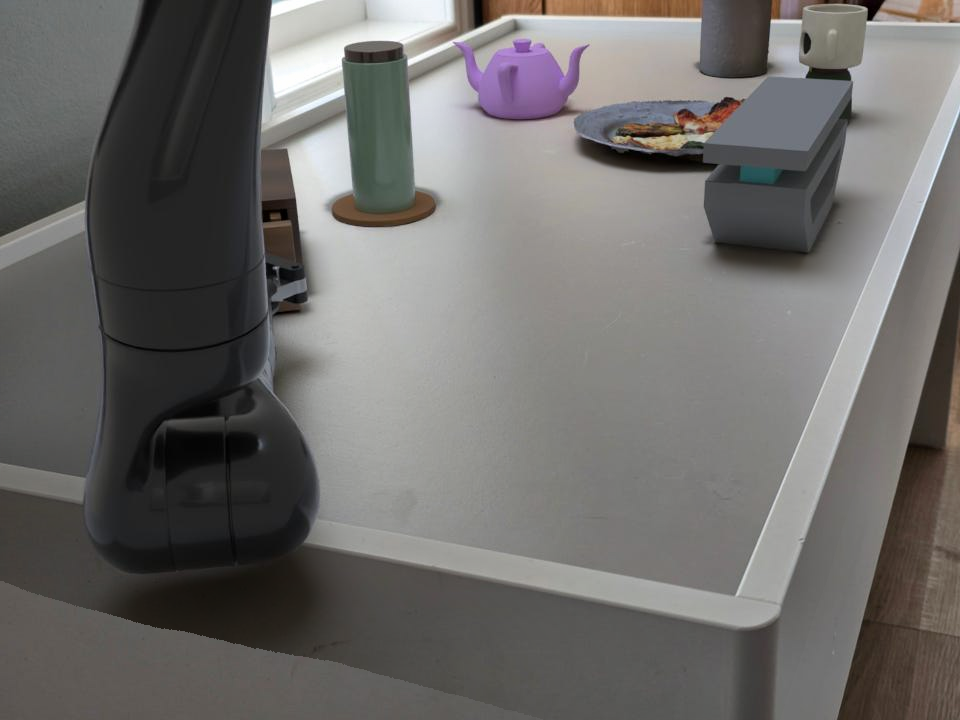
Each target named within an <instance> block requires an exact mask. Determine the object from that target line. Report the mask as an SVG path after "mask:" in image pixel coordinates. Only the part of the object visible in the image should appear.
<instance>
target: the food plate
mask: <svg viewBox="0 0 960 720" xmlns="http://www.w3.org/2000/svg"><path fill="white" fill-rule="evenodd" d="M746 99H747V98H746ZM746 99H745V98H742V99H740V100H739V99H736V98H734V97H730V96H725V97H723V99H721V100H720V102H719V101H718V102H715V101H709V100H708V101H707V100H699V99H698V100H689V99H688V100H682V99H678V100H668V99H667V100H666V99H665V100H647V101H641V100H638V101H634V100H632V101H628V102H623V103H614V104H610V105H605V106H602V107H598V108H596V109H592V110H586V111H584V112H582V113H580V114H579V115H577V116H576V117H574V118H573V125H574V126H573V127H574V129H575V132H576V135H578V136H579V137H582V138H584V139H586V140H587V139H588V140H591V141H594V142H596V143H599V144H602V145H606V146H609V147H610V148H611V150H616V151H617V152H618V153H621V154H624V153H625V151H626V152H627V153H628V152H629V150H633V151H637V152H638V151H639V152H641V154H646V155H647V154H648V155H652V154H664V155H665V156H666V155H669V156H672V157H678V156H684V155H688V154H689V155H703V151H704V142H705V141H706V140H707V139H708V138H709V137H710V136H711V135H712V134H713V133H714V132H715V131H716V130H717V129H718V128H719V127H720V126H721V125H722V124H723V123H724V122H725V121H726V120H727V119H728V117H729V116H730V115H731V114H732V113H733V112H734V111H735V110H736V109H737V108H738V107H739V106H740V105H741V104H742V103H743V102H744V101H745V100H746Z"/></svg>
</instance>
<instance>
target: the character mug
mask: <svg viewBox="0 0 960 720" xmlns="http://www.w3.org/2000/svg"><path fill="white" fill-rule="evenodd" d="M868 11H869V9H868V8H867V7H866V6H861V5H858V4H857V5H856V4H848V3H822V4H821V3H820V4H812V5H806V6H804V7H803V8H802V17H801V27H800V28H801V29H800V37H799V48H798V50H799V51H798V63H800V64H802V65H804V66H807V67H808V71H807V73H806V74H805V78H807V79H825V80H843V81H852V73H850V70H849V69H851V68H855V67H858V66H860V65H861V64H862V61H863V56H864V49H865V48H864V47H865V39H866V30H867V23H868V14H869V13H868ZM852 108H853V97H852V98H851V99H850V101H849V103H848V104H847V106H846V107H845V109H844V111H843V112H842V114H841V115H840V117H839V119H848V120H850V119H852V114H853V113H852V111H853V109H852Z"/></svg>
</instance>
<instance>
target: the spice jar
mask: <svg viewBox="0 0 960 720" xmlns="http://www.w3.org/2000/svg"><path fill="white" fill-rule="evenodd" d="M404 48H405V47H404V43H402V42H399V41H393V40H367V41H366V40H365V41H359V42H354V43H353V42H352V43H350V44H347V45H345V46H344V47H343V53H344V56H343V57H342V58H341V69H342V80H343V82H342V83H343V92H344V103H345V105H344V106H345V117H346V127H347V129H346V130H347V139H348V140H347V141H348V153H349V164H350V175H351V176H350V177H351V187H352V194H353V200H354V207H355V209H357V210H358V211H361V212H365V213H371V214H389V213H396V212H401V211H405V210H407V209H410V208H412V207H413V206H414V205H415V204H416V194H415V191H416V179H415V178H416V177H415V163H414V145H413V144H414V143H413V130H412V129H413V127H412V113H411V96H410V95H411V94H410V79H409V62H408V60H409V59H408V55H407V54H406V53H405V51H404Z"/></svg>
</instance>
